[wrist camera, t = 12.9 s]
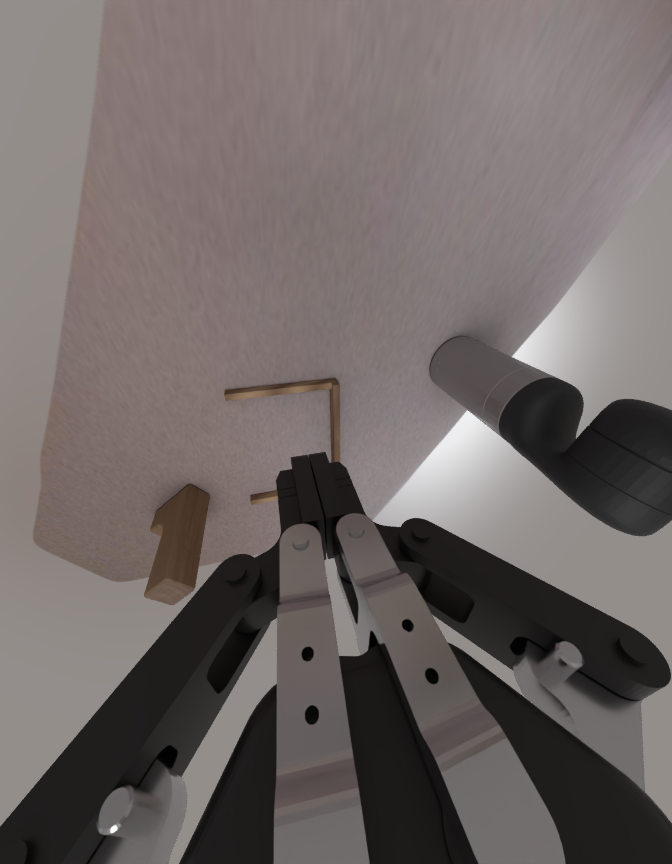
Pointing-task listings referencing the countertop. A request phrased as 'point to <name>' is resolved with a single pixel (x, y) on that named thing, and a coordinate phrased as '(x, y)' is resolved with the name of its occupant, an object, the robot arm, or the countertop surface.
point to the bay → (296, 388)
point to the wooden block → (178, 545)
